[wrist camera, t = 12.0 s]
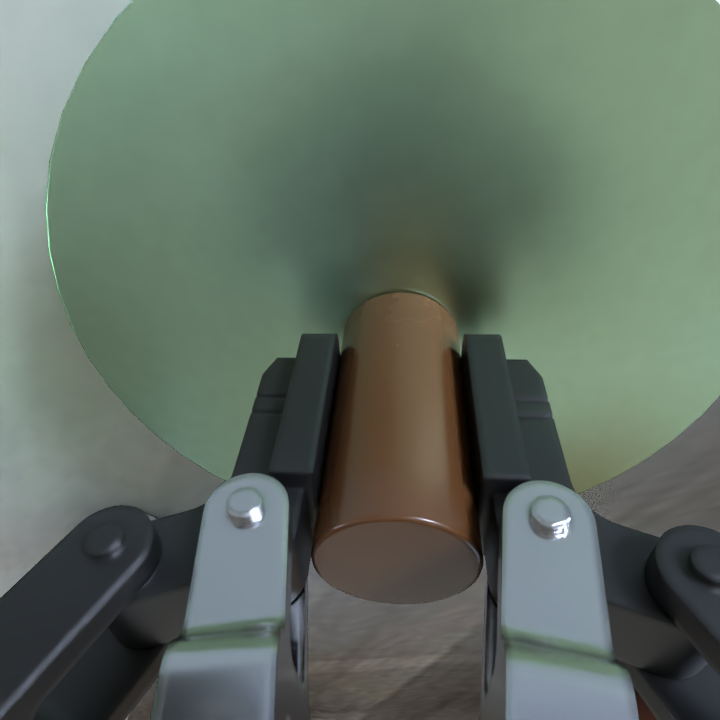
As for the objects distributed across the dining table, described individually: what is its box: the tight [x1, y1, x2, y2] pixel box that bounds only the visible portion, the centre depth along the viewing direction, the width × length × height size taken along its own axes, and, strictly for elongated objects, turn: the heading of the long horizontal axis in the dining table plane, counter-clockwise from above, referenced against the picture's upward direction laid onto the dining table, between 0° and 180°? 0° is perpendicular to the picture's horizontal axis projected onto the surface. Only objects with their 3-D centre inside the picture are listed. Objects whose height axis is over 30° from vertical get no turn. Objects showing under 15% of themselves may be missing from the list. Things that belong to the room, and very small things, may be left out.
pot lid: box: [45, 0, 720, 604], centre depth 11 cm, size 16×16×7 cm
